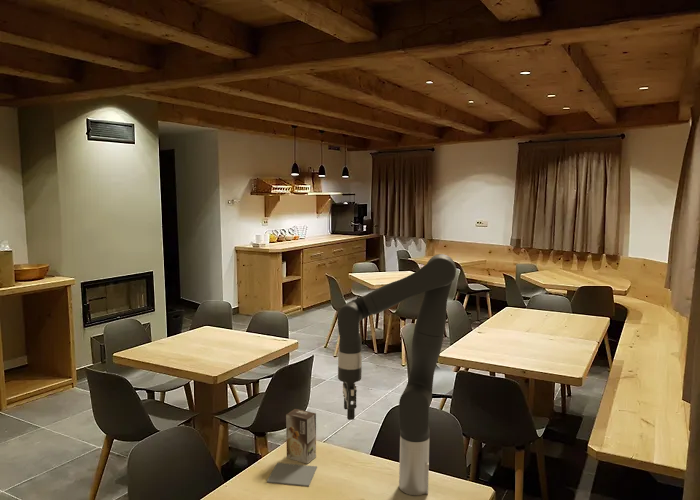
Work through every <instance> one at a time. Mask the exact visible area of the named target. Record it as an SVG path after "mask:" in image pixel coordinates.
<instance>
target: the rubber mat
mask: <svg viewBox="0 0 700 500" xmlns="http://www.w3.org/2000/svg"><path fill="white" fill-rule="evenodd" d="M317 469H318V466H317V465H308V464H307V465H304V464H297V463H295V464H294V463H284V462H277V463H276V464H275V466H274V468H273V470H272V471H271V473H270V475H269V476H268V478H267V480H266V483H269V484H281V485H289V486H299V487H300V486H301V487H310V485H311V482H312V480H313V478H314V476H315V472H316V471H317Z"/></svg>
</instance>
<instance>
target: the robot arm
mask: <svg viewBox="0 0 700 500" xmlns="http://www.w3.org/2000/svg"><path fill="white" fill-rule="evenodd" d="M456 275H457V265H456V263H455V261H454V260H453V258H452V257H451V256H449V255H447V254H444V253H439V254H436V255H433V256H432V257H430V259H429V260H428V261H427V262H426V264H425V265H423V266H422V267H420V268H419V269H418V270H417V271H415V272H413V273H412V274H410V275H408V276H405V277H402V278H401V279H398V280H395V281H393V282H390V283H387V284H385V285H383V286H380V287H379V288H376V289H374V290H372V291H370V292H368V293H366V294H365V295H363V296H360V297H358V298H355V299H352V300H351V301H349V302H347V303H345V304H344V305H342V306H341V307H340V308H339V310H338V312H337V329H338V334H339V341H338V344H339V345H338V347H339V349H338V358H337V360H338V361H337V362H338V363H337V365H338V366H337V379H338V380H339V381H340V382H342V394H343V395H342V397H343V409H344V410H347V413H346V414H347V415H346V416H347V417H346V418H347V420H348V421H353V420H355V412H356V411H355V409H357V392H358V390H357V385H356V383H357V382H359V381H361V380H362V369H363V367H362V366H363V364H362V361H363V359H362V358H363V357H362V335H361V334H360V322H361V321H363V320H364V319H366V318H369V317H370V316H371V315H377V314H379V313H382V312H385V311H387V310H389V309H390V308H392V307H395V306H397V305H398V304H400V303H402V302H404V301H406V300H408V299H410V298H413V297H414V296H417V295H421V294H423V293H424V294H423V298H422V301H421V305H420V308H419V310H418V314H417V317H416V320H415V323H414V324H415V325H414V330H413V334H412V339H411V340H412V341H411V368H410V372H409V377H408V380H407V383H406V386H405V388H404V390H403V392H402V394H401V396H400V398H399V401H398V403H399V404H398V427H399V431H400V432H399V433H400V434H399V464H398V465H399V469H398V470H399V471H398V474H399V475H398V488H399V490H400V491H401V492H402V493H404V494H406V495H408V496H409V495H410V496H421V495H425V494H427V495H428V494H429V478H430V477H429V474H430V473H429V472H430V471H429V469H430V432H431V431H430V430H431V429H430V427H429V423H430V422H429V420H430V419H429V414H430V412H429V411H430V407H431V404H432V401H433V385H434V376H435V371H436V367H437V364H438V362H439V358H440V353H441V350H442V347H443V342H444V336H445V330H446V322H447V310H448V309H447V307H448V300H449V294H450V290H451V287H452V285H453V281H454V280H455V278H456ZM352 403H353V404H352Z"/></svg>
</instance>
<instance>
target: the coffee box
mask: <svg viewBox="0 0 700 500" xmlns="http://www.w3.org/2000/svg"><path fill="white" fill-rule="evenodd" d="M285 419H286V420H285V425H286V430H285V432H286V441H285V442H286V458H287V459H289V460H293V461H297V462H300V463H303V464H307V465H308V464H309V463H310V462H312V461H313V460H314V459H315V458H316V457H317V413H316V412H313V411H307V410H302V409H298V408H294V409H293V410H291V411H289V412H288V413H286V414H285Z"/></svg>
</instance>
